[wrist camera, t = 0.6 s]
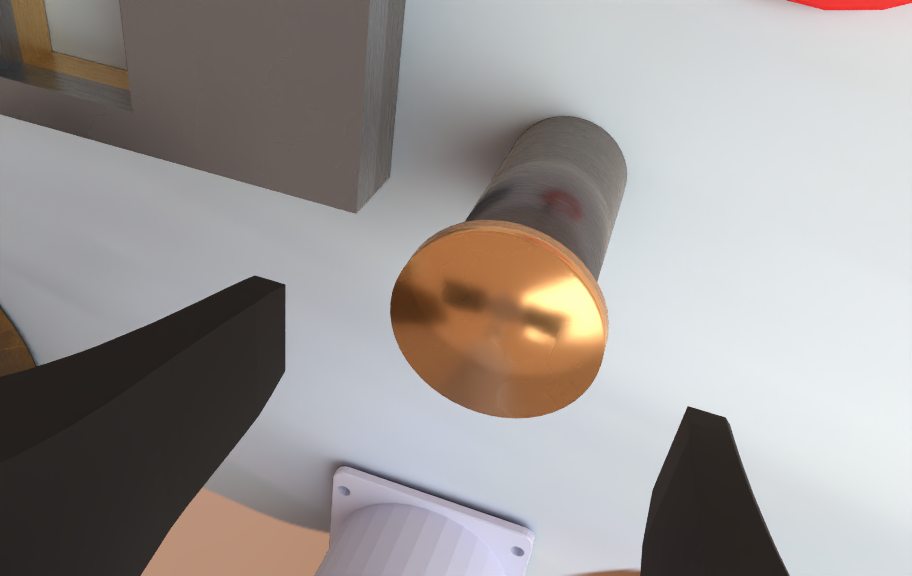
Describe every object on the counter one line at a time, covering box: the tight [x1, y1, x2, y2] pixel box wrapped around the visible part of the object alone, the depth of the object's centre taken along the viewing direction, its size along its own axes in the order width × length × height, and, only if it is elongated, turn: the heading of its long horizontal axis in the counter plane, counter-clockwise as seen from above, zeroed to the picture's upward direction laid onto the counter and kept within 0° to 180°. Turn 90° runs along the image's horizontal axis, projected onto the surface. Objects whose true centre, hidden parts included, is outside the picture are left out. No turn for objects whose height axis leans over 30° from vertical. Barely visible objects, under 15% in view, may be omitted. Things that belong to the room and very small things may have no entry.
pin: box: [390, 116, 627, 418], centre depth 18 cm, size 4×4×8 cm
